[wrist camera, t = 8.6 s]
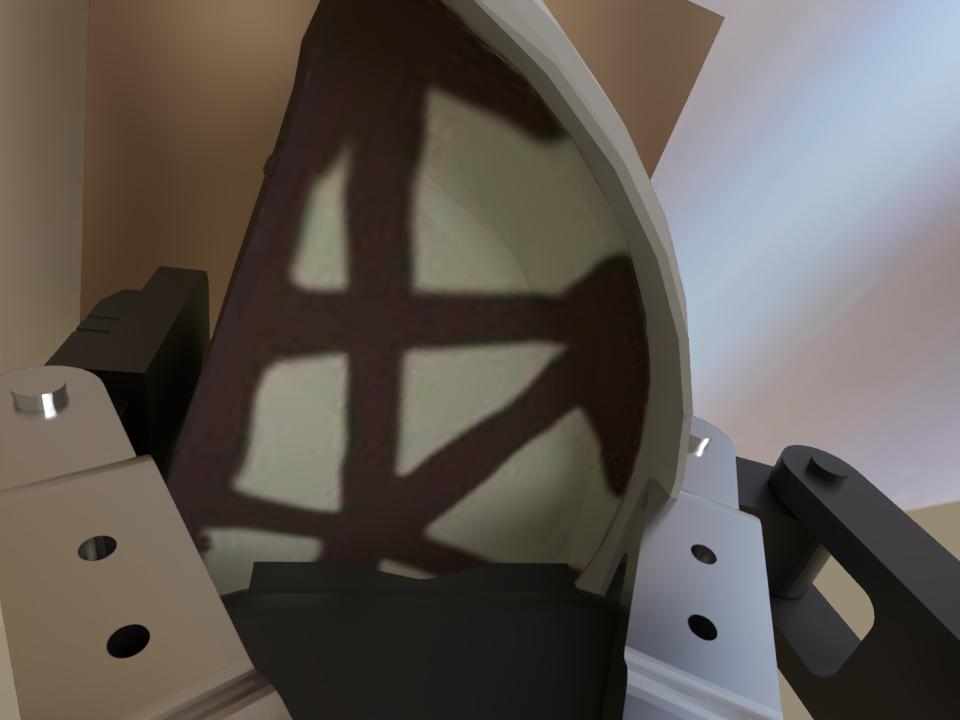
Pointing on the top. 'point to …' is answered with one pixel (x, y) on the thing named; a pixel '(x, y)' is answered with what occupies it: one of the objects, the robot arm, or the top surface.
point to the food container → (440, 312)
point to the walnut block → (261, 108)
